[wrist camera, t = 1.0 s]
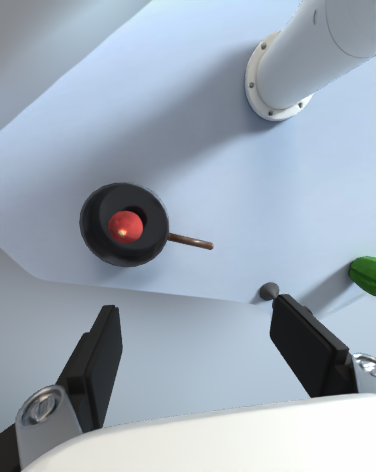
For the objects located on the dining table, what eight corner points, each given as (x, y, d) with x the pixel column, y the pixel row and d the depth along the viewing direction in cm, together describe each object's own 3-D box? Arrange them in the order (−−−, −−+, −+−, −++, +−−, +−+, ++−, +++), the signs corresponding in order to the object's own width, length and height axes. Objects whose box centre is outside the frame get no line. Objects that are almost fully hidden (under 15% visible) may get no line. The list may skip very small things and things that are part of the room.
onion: (114, 234, 37) (99, 248, 29) (115, 205, 35) (101, 213, 28) (143, 238, 38) (137, 253, 30) (146, 210, 36) (140, 218, 29)
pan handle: (165, 238, 35) (165, 240, 34) (166, 231, 35) (166, 233, 34) (211, 248, 37) (213, 251, 36) (213, 242, 36) (215, 244, 35)
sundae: (259, 306, 46) (299, 363, 32) (253, 284, 44) (294, 335, 30) (284, 298, 46) (336, 351, 32) (279, 275, 44) (333, 321, 30)
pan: (95, 172, 34) (85, 171, 29) (176, 194, 36) (177, 196, 32) (85, 248, 38) (75, 257, 33) (159, 263, 40) (158, 273, 36)
